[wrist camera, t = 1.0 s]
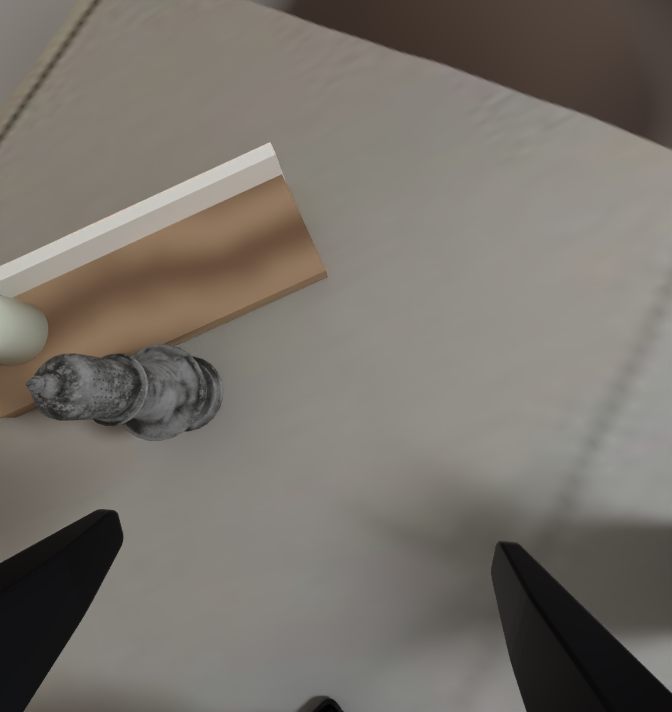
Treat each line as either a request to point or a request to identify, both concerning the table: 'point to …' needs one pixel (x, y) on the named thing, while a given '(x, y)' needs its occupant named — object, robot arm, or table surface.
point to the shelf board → (172, 284)
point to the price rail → (139, 220)
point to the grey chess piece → (131, 390)
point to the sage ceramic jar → (20, 331)
